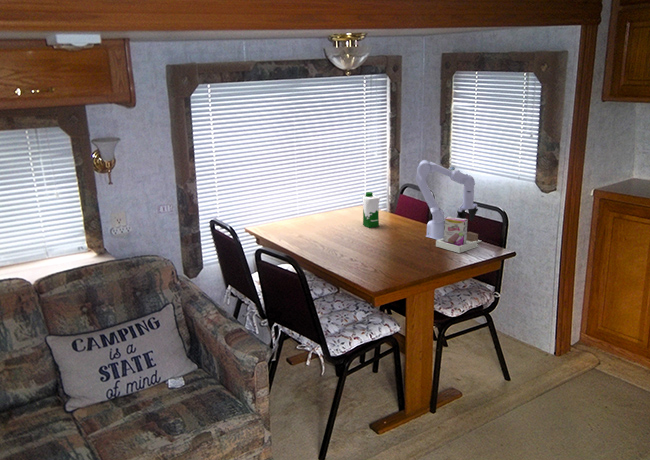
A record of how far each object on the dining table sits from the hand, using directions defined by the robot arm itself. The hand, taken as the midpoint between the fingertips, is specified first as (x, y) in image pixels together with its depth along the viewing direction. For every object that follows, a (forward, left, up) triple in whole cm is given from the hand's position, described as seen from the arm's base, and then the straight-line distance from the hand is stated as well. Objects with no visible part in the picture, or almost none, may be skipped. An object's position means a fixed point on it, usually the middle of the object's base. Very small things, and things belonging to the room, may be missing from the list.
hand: (466, 222), depth 331 cm
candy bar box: (+7, -19, -10) cm, 22 cm away
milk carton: (-54, -21, -10) cm, 59 cm away
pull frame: (+6, -11, -9) cm, 16 cm away
